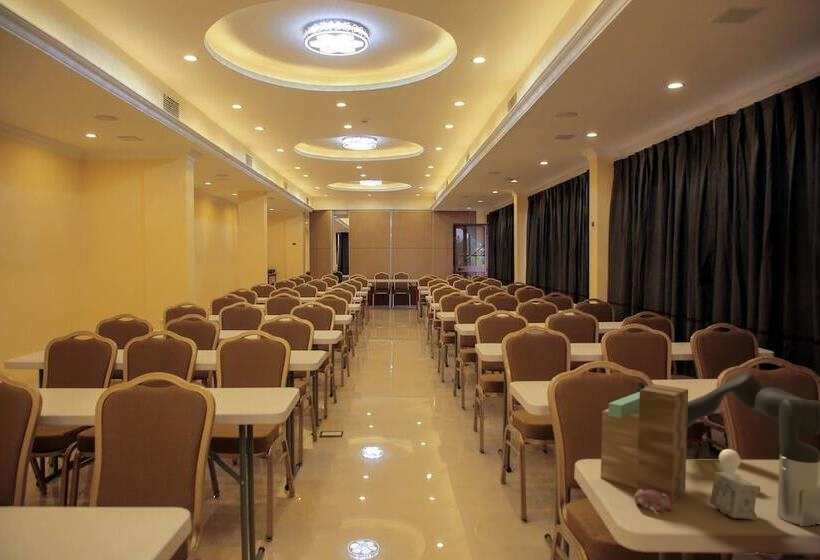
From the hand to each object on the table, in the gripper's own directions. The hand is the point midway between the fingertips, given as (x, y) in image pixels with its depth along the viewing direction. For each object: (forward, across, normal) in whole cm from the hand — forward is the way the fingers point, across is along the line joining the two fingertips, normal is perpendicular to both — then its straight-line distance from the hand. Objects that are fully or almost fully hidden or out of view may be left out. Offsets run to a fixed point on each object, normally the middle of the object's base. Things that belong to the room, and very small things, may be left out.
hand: (652, 386), depth 205 cm
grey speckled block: (+9, +33, +36) cm, 50 cm away
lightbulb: (-12, +26, +24) cm, 37 cm away
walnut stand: (+9, +13, +36) cm, 40 cm away
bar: (+13, 0, +13) cm, 18 cm away
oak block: (+4, +1, +33) cm, 33 cm away
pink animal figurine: (+21, +16, +42) cm, 50 cm away
